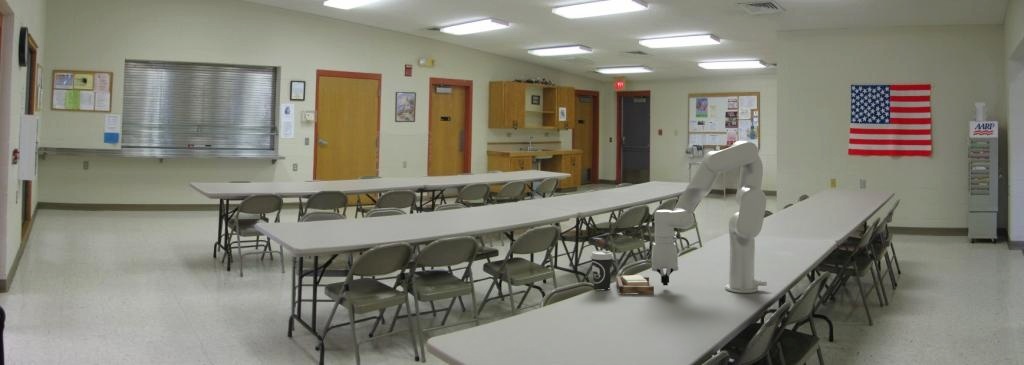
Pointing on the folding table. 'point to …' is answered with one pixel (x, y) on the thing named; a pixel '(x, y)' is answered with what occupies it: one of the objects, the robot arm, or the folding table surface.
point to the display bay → (634, 287)
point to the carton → (634, 280)
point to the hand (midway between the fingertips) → (665, 284)
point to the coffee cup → (601, 269)
